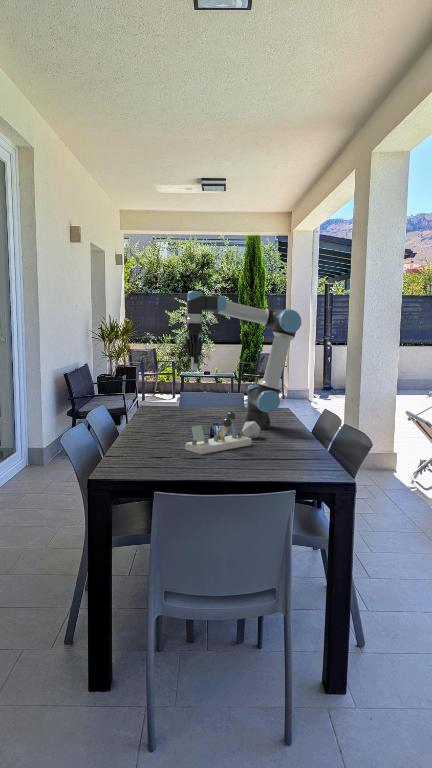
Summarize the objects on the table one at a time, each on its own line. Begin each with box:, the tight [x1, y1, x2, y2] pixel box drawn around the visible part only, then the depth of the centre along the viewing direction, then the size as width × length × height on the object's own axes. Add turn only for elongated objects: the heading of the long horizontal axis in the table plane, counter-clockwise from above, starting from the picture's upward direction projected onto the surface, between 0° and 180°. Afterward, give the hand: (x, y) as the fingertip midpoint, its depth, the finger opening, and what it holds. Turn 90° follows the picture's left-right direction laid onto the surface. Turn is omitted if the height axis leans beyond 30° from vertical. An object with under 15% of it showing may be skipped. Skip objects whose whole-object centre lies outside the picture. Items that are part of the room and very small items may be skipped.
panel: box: [184, 431, 252, 455], centre depth 250 cm, size 11×30×5 cm, turn 130°
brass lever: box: [217, 417, 232, 440], centre depth 247 cm, size 4×4×12 cm
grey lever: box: [226, 411, 239, 436], centre depth 259 cm, size 4×4×12 cm
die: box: [241, 422, 262, 439], centre depth 273 cm, size 8×9×10 cm
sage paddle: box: [190, 425, 205, 442], centre depth 244 cm, size 1×5×7 cm, turn 131°
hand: (194, 369), depth 277 cm, fingers closed
